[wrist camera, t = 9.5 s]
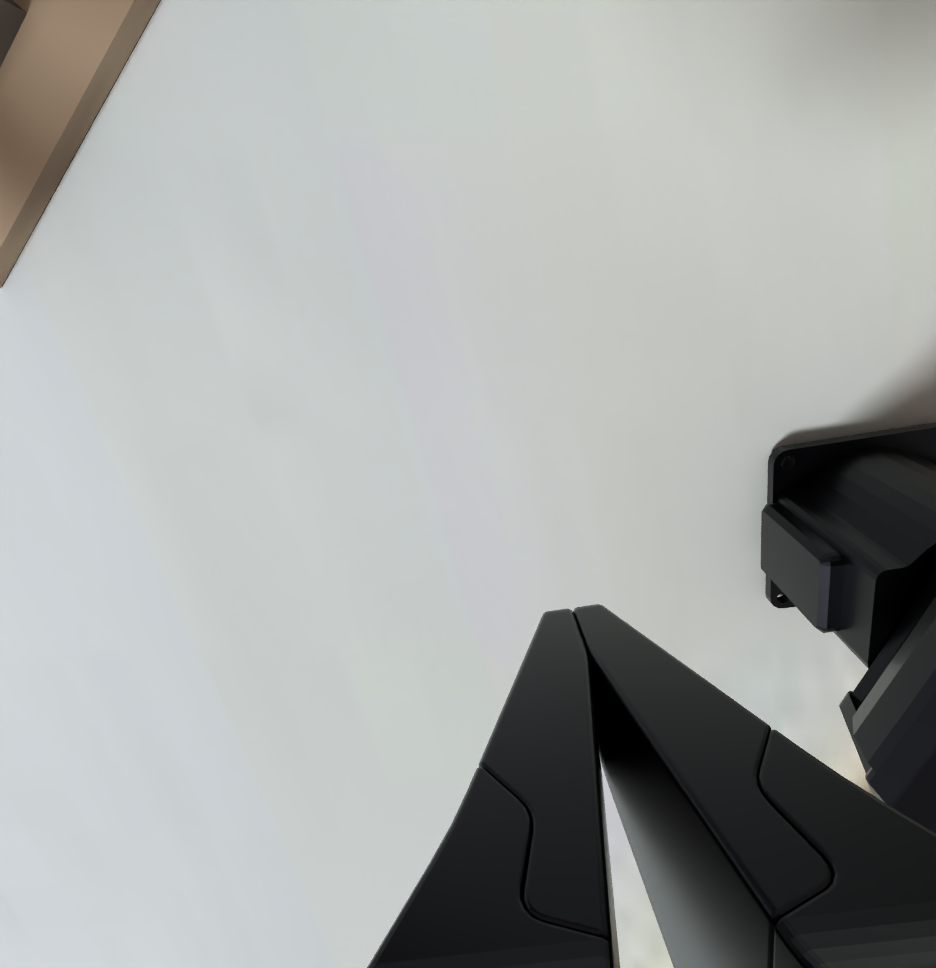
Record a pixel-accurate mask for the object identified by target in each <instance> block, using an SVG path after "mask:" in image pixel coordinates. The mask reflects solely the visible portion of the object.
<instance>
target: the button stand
mask: <svg viewBox="0 0 936 968" xmlns="http://www.w3.org/2000/svg"><path fill="white" fill-rule="evenodd" d="M159 1H160V0H0V288H1V287H2V285H3V283H4V282H5V280H6V278H7V276H8V274H9V273H10V271H11V269H12V267H13V265H14V263H15V262H16V260H17V258H18V256H19V254H20V253H21V251H22V249H23V247H24V245H25V244H26V242H27V240H28V238H29V236H30V235H31V233H32V231H33V229H34V227H35V226H36V224H37V222H38V220H39V218H40V216H41V215H42V213H43V211H44V209H45V207H46V206H47V204H48V202H49V200H50V198H51V197H52V195H53V193H54V191H55V189H56V188H57V186H58V184H59V182H60V180H61V179H62V177H63V175H64V173H65V171H66V170H67V168H68V166H69V164H70V162H71V160H72V159H73V157H74V155H75V153H76V151H77V150H78V148H79V146H80V144H81V142H82V141H83V139H84V137H85V135H86V133H87V132H88V130H89V128H90V126H91V124H92V123H93V121H94V119H95V117H96V115H97V113H98V112H99V110H100V108H101V106H102V104H103V103H104V101H105V99H106V97H107V95H108V94H109V92H110V90H111V88H112V86H113V85H114V83H115V81H116V79H117V77H118V76H119V74H120V72H121V70H122V68H123V66H124V65H125V63H126V61H127V59H128V57H129V56H130V54H131V52H132V50H133V48H134V47H135V45H136V43H137V41H138V39H139V38H140V36H141V34H142V32H143V30H144V29H145V27H146V25H147V23H148V21H149V19H150V18H151V16H152V14H153V12H154V10H155V9H156V7H157V5H158V3H159Z"/></svg>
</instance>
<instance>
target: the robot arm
mask: <svg viewBox="0 0 936 968" xmlns="http://www.w3.org/2000/svg"><path fill="white" fill-rule="evenodd" d="M788 456H789V457H790V459H789V462H788V463H787V464H786V465H784V466H781V465H780V464H781V461H782V460H783V459H784V458H785V457H788ZM761 569H762V570H763V571H764V572H765V573H766V597H767V599H768V600H769V601H770V602H771V603H772V604H773V606H775V607H777V608H788V607H795V606H796V607H797V608H798V609H799V610H800V611H801V613H802V614H803V615H804V616H805V617H806V618H807V619H808V620H809V621H810V622H811V623H812V625H813V626H814V627H816V628H817V629H818V630H820V631H821V632H823V633H828V632H834V633H835V634H836V635H837V636H838V637H839V638H840V639H841V640H842V641H843V642H844V643H845V644H846V646H847V647H848V648H849V649H850V650H851V651H852V652H853V653H854V654H855V655H856V656H857V657H858V658H859V659H860V660H861V661H862V662H863V663H864V664H865V665H866V666H867V668H868V671H867V672H866V674H865V675H864V677H863V678H862V680H861V681H860V683H859V684H858V685H857V687H856V688H855V690H854V691H853V692H852V691H849V692H848V693H847V694H846V696H845V697H844V699H843V700H842V702H841V703H840V705H839V707H840V709H841V712H842V714H843V717H844V719H845V722H846V724H847V727H848V729H849V732H850V734H851V737H852V739H853V742H854V744H855V747H856V749H857V752H858V754H859V757H860V759H861V762H862V764H863V767H864V769H865V772H866V777H865V778H866V780H867V783H868V785H869V788H870V790H871V792H872V793H873V794H874V795H875V796H873V795H872V794H870V793H868V792H867V791H865V790H863V789H862V788H860V787H859V786H857V785H855V784H854V783H852V782H851V781H849V780H847V779H846V778H844V777H843V776H841V775H840V774H838V773H837V772H835V771H834V770H832V769H831V768H829V767H828V766H826V765H825V764H824V763H822V762H821V761H819V760H818V759H816V758H815V757H813V756H812V755H810V754H809V753H807V752H806V751H804V750H803V749H802V748H800V747H799V746H797V745H796V744H795V743H793V742H792V741H790V740H789V739H788V738H786V737H785V736H783V735H782V734H781V733H779V732H778V731H776V730H771V727H770V726H769V725H768V724H766V723H765V722H764V721H762V720H761V719H759V718H758V717H757V716H755V715H754V714H752V713H751V712H750V711H748V710H747V709H745V708H744V707H743V706H741V705H740V704H739V703H737V702H736V701H734V700H733V699H732V698H730V697H729V696H727V695H726V694H725V693H723V692H722V691H720V690H719V689H718V688H716V687H715V686H714V685H712V684H711V683H709V682H708V681H707V680H705V679H704V678H702V677H701V676H700V675H698V674H697V673H695V672H694V671H693V670H691V669H690V668H689V667H687V666H686V665H684V664H683V663H682V662H680V661H679V660H677V659H676V658H675V657H673V656H672V655H670V654H669V653H668V652H666V651H665V650H664V649H662V648H661V647H659V646H658V645H657V644H655V643H654V642H652V641H651V640H650V639H648V638H647V637H645V636H644V635H643V634H641V633H640V632H639V631H637V630H636V629H634V628H633V627H632V626H630V625H629V624H627V623H626V622H625V621H623V620H622V619H620V618H619V617H618V616H616V615H615V614H613V613H612V612H611V611H609V610H608V609H607V608H605V607H604V606H602V605H599V604H597V605H590V606H583V607H577V608H575V609H574V611H573V612H572V611H571V610H570V609H562V610H555V611H548V612H545V613H544V614H543V616H542V618H541V620H540V623H539V625H538V627H537V630H536V632H535V634H534V637H533V639H532V641H531V644H530V646H529V648H528V651H527V653H526V655H525V658H524V660H523V662H522V665H521V667H520V669H519V672H518V674H517V676H516V679H515V681H514V683H513V686H512V688H511V690H510V693H509V695H508V697H507V700H506V702H505V704H504V707H503V709H502V711H501V714H500V716H499V718H498V721H497V723H496V726H495V728H494V730H493V733H492V735H491V737H490V740H489V742H488V744H487V747H486V749H485V751H484V754H483V756H482V758H481V761H480V763H479V768H477V769H476V772H475V774H474V776H473V779H472V781H471V783H470V786H469V788H468V790H467V793H466V795H465V797H464V799H463V801H462V803H461V805H460V807H459V809H458V812H457V814H456V816H455V818H454V820H453V822H452V824H451V826H450V828H449V830H448V832H447V833H446V835H445V837H444V839H443V840H442V842H441V844H440V846H439V848H438V849H437V851H436V853H435V855H434V857H433V858H432V860H431V862H430V864H429V865H428V867H427V869H426V870H425V872H424V874H423V875H422V877H421V879H420V880H419V882H418V884H417V885H416V887H415V889H414V890H413V892H412V894H411V895H410V897H409V899H408V900H407V902H406V904H405V905H404V907H403V909H402V910H401V912H400V914H399V915H398V917H397V919H396V920H395V922H394V924H393V925H392V927H391V929H390V930H389V932H388V934H387V935H386V937H385V939H384V940H383V942H382V944H381V945H380V947H379V949H378V950H377V952H376V954H375V955H374V957H373V959H372V960H371V962H370V964H369V965H368V967H367V968H620V962H619V951H618V941H617V930H616V920H615V909H614V898H613V888H612V877H611V867H610V856H609V846H608V835H607V824H606V814H605V803H604V793H603V782H602V773H601V763H602V767H603V770H604V773H605V776H606V779H607V782H608V785H609V788H610V790H611V793H612V796H613V799H614V802H615V804H616V807H617V810H618V813H619V816H620V818H621V821H622V824H623V827H624V830H625V832H626V835H627V838H628V841H629V844H630V846H631V849H632V852H633V855H634V858H635V860H636V863H637V866H638V869H639V872H640V874H641V877H642V880H643V883H644V885H645V888H646V891H647V894H648V897H649V899H650V902H651V905H652V908H653V911H654V913H655V916H656V919H657V922H658V925H659V927H660V930H661V933H662V936H663V939H664V941H665V944H666V947H667V950H668V953H669V955H670V958H671V961H672V964H673V967H674V968H936V423H931V424H925V425H918V426H912V427H905V428H899V429H892V430H886V431H879V432H872V433H866V434H859V435H853V436H846V437H840V438H833V439H827V440H820V441H814V442H807V443H800V444H794V445H787V446H782V447H779V448H777V449H775V450H774V451H773V452H772V453H771V455H770V456H769V460H768V494H767V505H766V506H765V507H764V509H763V510H762V526H761ZM781 592H783V593H784V594H783V595H782V596H781V597H777V596H778V594H779V593H781ZM600 760H601V763H600Z"/></svg>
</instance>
